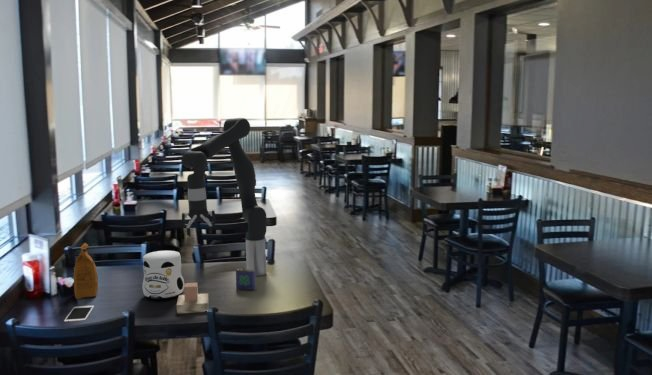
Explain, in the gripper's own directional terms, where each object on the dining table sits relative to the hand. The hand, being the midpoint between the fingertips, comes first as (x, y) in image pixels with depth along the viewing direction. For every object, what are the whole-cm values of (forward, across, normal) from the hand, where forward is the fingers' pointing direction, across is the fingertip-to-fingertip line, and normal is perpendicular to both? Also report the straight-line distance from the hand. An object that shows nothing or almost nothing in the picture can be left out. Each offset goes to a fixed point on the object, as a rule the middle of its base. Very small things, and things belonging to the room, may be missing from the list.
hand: (200, 235), depth 249 cm
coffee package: (+25, +50, -10) cm, 56 cm away
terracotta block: (+22, +5, +17) cm, 28 cm away
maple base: (+26, +5, +17) cm, 31 cm away
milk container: (+26, +17, 0) cm, 31 cm away
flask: (+27, -18, 0) cm, 32 cm away
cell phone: (+25, +48, +14) cm, 56 cm away
